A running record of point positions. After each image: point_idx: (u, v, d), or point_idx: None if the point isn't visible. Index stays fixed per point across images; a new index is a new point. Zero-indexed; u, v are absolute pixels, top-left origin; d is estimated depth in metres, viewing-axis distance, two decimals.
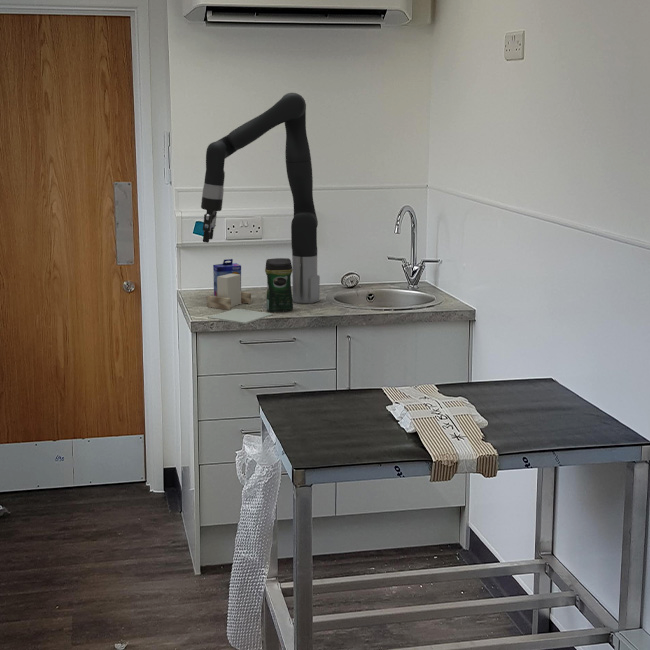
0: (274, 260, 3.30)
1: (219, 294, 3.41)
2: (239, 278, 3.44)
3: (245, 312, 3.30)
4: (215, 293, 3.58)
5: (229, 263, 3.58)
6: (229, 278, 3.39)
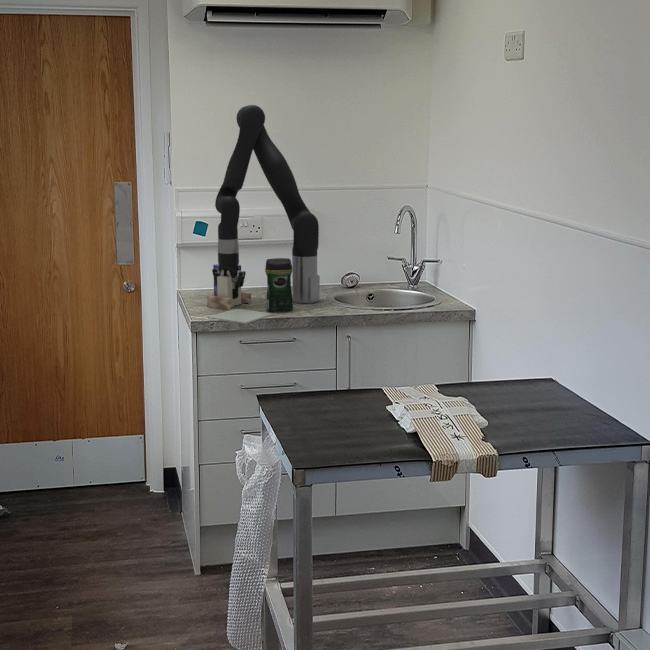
0: (274, 260, 3.30)
1: (219, 294, 3.41)
2: None
3: (245, 312, 3.30)
4: (215, 293, 3.58)
5: None
6: (229, 278, 3.39)
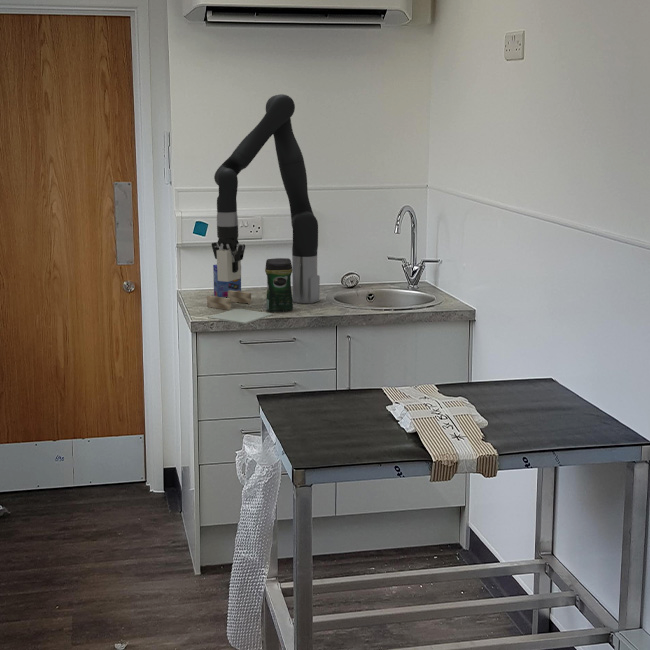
0: (274, 260, 3.30)
1: (219, 268, 3.38)
2: None
3: (245, 312, 3.30)
4: (215, 293, 3.58)
5: None
6: (229, 251, 3.36)
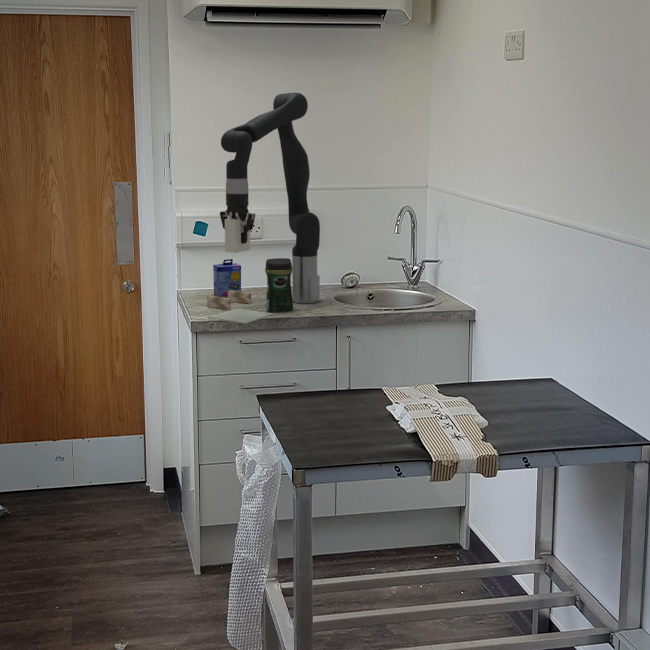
0: (274, 260, 3.30)
1: (227, 238, 3.18)
2: None
3: (245, 312, 3.30)
4: (215, 293, 3.58)
5: (229, 263, 3.57)
6: (238, 220, 3.16)
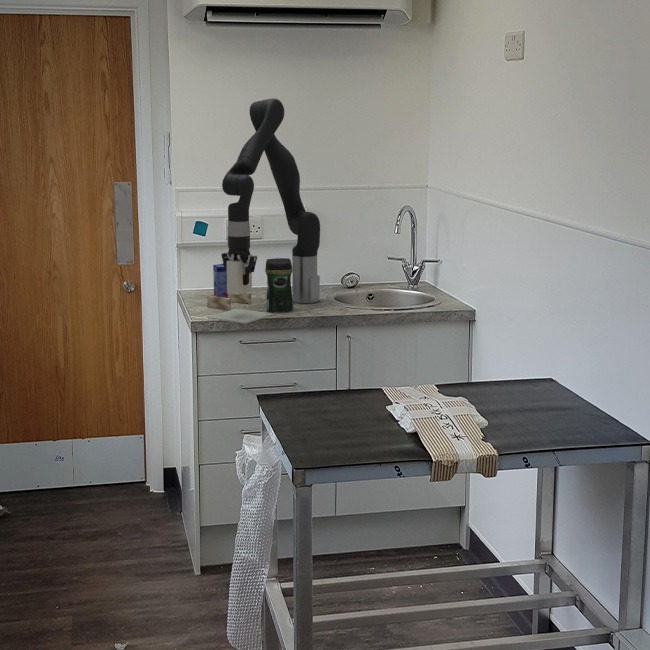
0: (274, 260, 3.30)
1: (229, 280, 3.20)
2: None
3: (245, 312, 3.30)
4: (215, 293, 3.58)
5: None
6: (239, 263, 3.18)
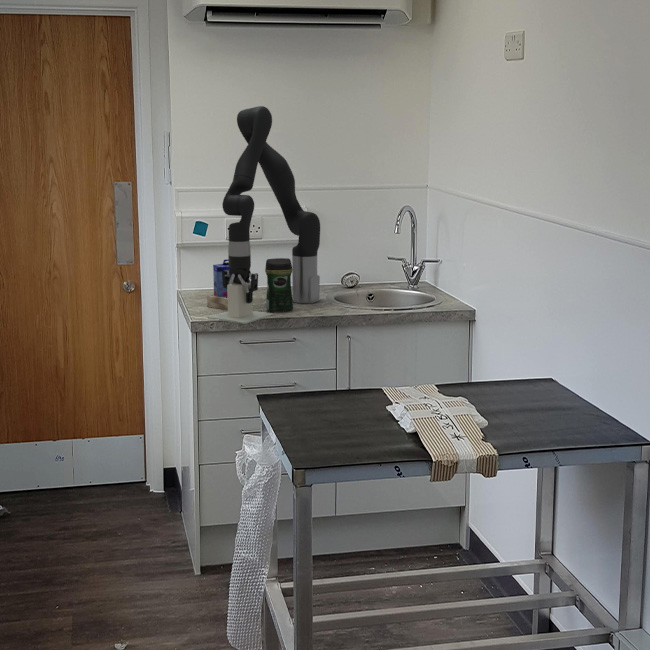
0: (274, 260, 3.30)
1: (229, 303, 3.22)
2: None
3: None
4: (215, 293, 3.58)
5: None
6: (240, 286, 3.20)
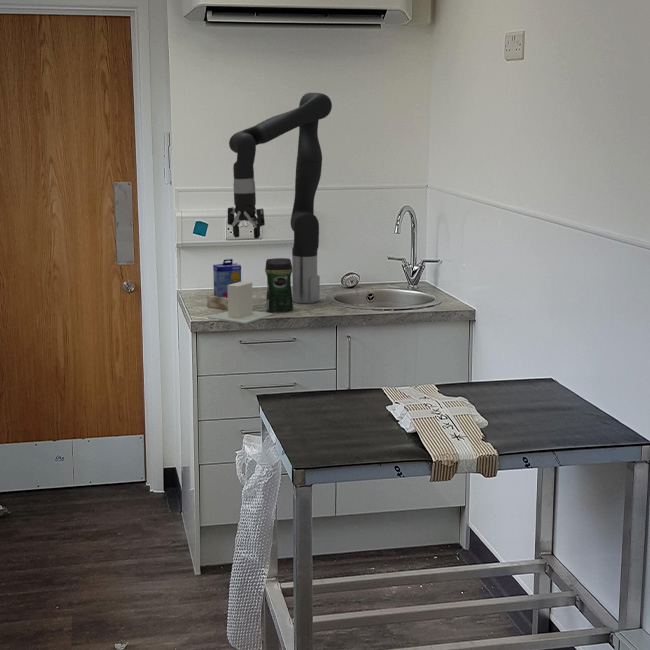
0: (274, 260, 3.30)
1: (230, 303, 3.22)
2: (251, 286, 3.25)
3: None
4: (215, 293, 3.58)
5: (229, 263, 3.58)
6: (240, 286, 3.20)
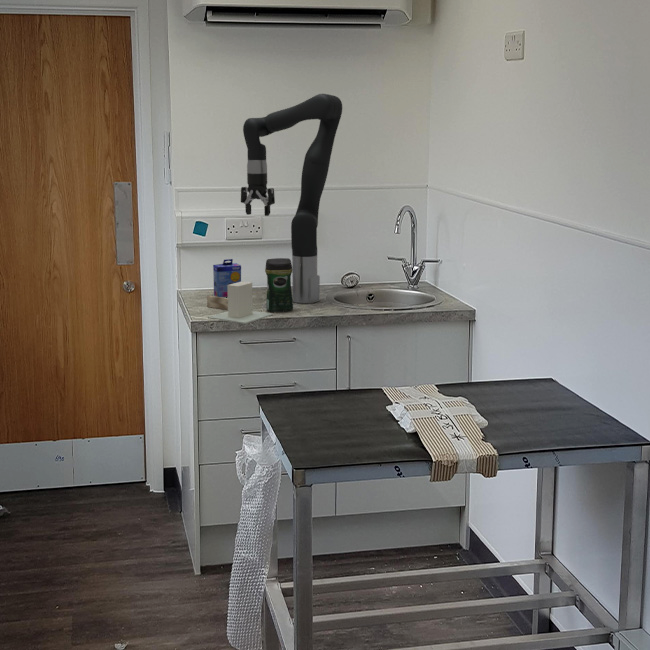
0: (274, 260, 3.30)
1: (230, 303, 3.22)
2: (251, 286, 3.25)
3: None
4: (215, 293, 3.58)
5: (229, 263, 3.58)
6: (240, 286, 3.20)
